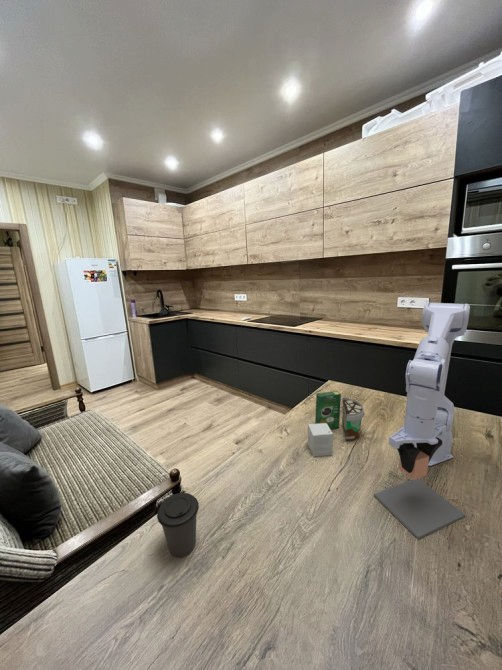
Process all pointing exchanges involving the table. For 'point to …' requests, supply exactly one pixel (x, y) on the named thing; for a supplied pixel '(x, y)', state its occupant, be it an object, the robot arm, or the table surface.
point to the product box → (320, 439)
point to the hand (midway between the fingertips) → (414, 467)
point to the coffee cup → (179, 523)
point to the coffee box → (328, 408)
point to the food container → (351, 418)
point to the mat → (419, 507)
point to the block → (417, 466)
